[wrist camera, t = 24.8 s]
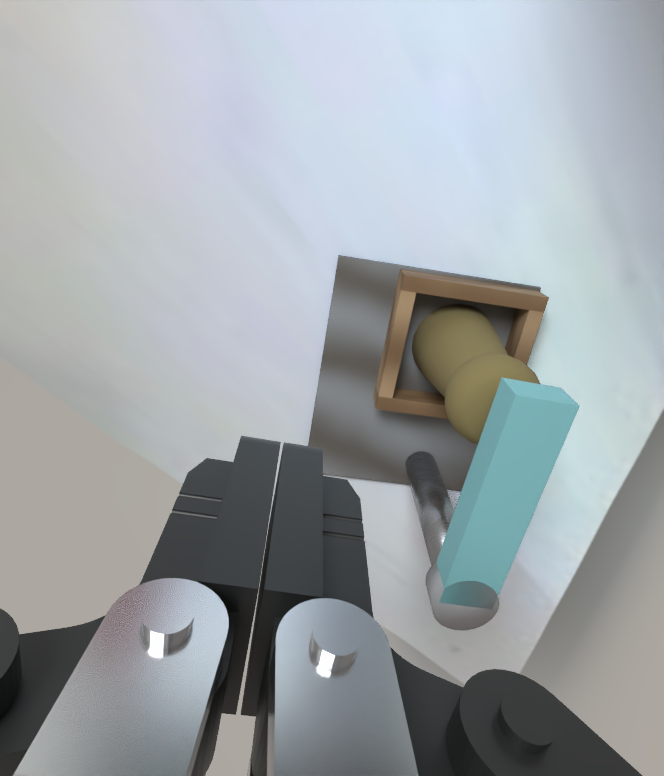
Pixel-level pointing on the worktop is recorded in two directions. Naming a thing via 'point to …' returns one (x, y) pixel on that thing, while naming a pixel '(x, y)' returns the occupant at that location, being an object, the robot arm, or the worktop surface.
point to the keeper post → (430, 500)
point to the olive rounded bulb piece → (465, 364)
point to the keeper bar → (498, 500)
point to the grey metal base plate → (401, 367)
